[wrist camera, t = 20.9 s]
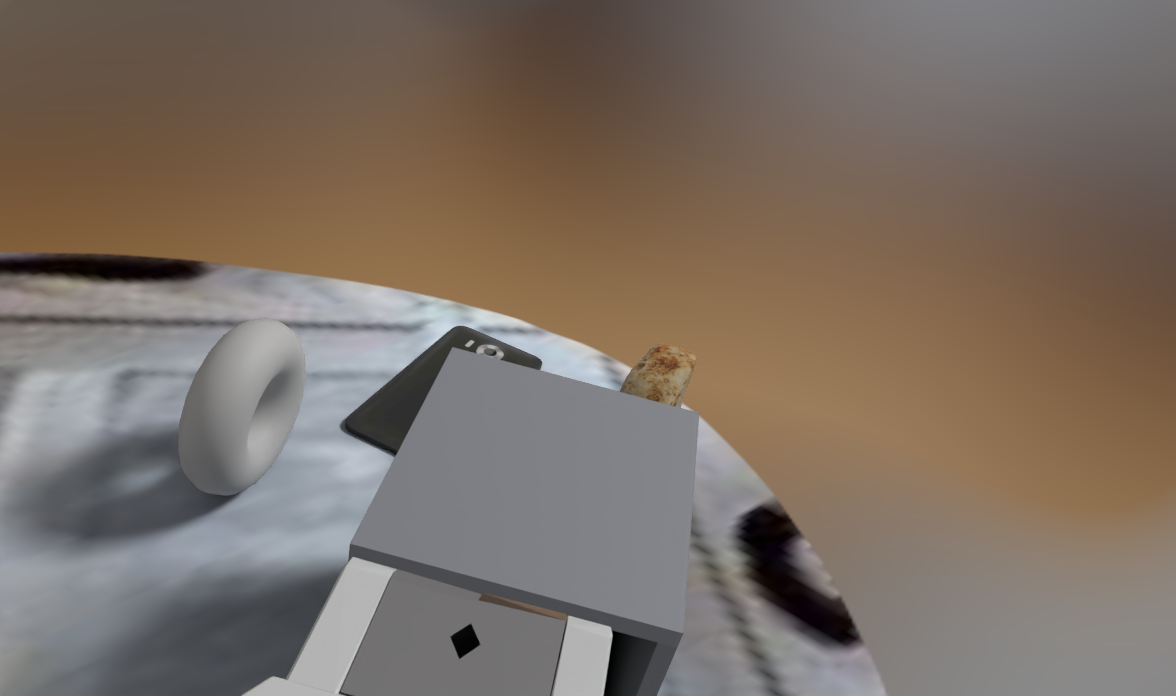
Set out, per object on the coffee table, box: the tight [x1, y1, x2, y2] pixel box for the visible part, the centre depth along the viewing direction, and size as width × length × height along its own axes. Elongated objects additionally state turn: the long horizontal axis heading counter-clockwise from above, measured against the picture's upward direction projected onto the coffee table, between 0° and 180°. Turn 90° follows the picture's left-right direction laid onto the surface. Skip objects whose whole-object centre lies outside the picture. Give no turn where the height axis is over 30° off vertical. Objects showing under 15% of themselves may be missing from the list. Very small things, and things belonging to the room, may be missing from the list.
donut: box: [178, 318, 306, 496], centre depth 49 cm, size 10×3×10 cm, turn 169°
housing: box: [348, 347, 699, 696], centre depth 40 cm, size 13×12×14 cm
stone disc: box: [620, 344, 697, 408], centre depth 55 cm, size 10×4×10 cm, turn 158°
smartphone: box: [346, 326, 542, 455], centre depth 62 cm, size 8×15×1 cm, turn 157°
